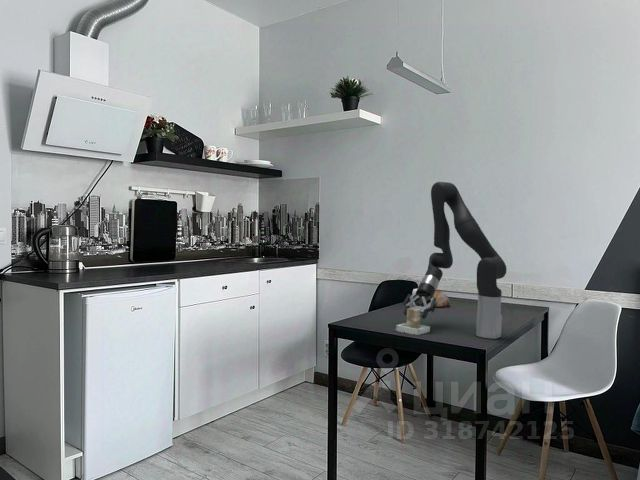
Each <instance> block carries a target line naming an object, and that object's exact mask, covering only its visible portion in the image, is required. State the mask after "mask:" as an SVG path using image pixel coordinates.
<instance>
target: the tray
mask: <svg viewBox="0 0 640 480" xmlns="http://www.w3.org/2000/svg"><path fill="white" fill-rule="evenodd" d="M395 332H399V333H404V332H405V333H406V334H409V335H414V334H415V335H414V336H421V334H422V335H425V334H428V333H430V332H431V326H430V325H424V324H420V328H419V329H415V328H410V327H406V322H403V323H400V324H395ZM405 333H404V334H405Z"/></svg>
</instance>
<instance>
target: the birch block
mask: <svg viewBox="0 0 640 480" xmlns="http://www.w3.org/2000/svg"><path fill="white" fill-rule="evenodd" d="M405 323H406V327H410V328H415V329H419V328H420V325H421V312H420V309H414V308H409V309H407V316H406V322H405Z"/></svg>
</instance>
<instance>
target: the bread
mask: <svg viewBox="0 0 640 480" xmlns="http://www.w3.org/2000/svg"><path fill="white" fill-rule="evenodd" d="M433 298H436V299H437V305H436V307H435V309H436V308H441V309H442V308H443V309H445V307H447V308H448V307H449V306H450V304H451V303H450V299H449V297H448V295H447V294H445V293H444V292H443V291H442V290H439V289H438V290H436V291H435V294H434V296H433ZM433 298H432V299H433ZM431 303H432V302H431Z"/></svg>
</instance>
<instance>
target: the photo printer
mask: <svg viewBox="0 0 640 480" xmlns="http://www.w3.org/2000/svg"><path fill="white" fill-rule="evenodd" d="M417 289H418V287H417V288H413V290H412V294H411V296H414V295H415V294H416V291H417ZM413 304H415V303H414V302H413ZM430 305H431V302H430V303H429V304H428V307H430ZM412 308H414V309H420V313H423V311H424V309H426V308H425V306H423V307H421V306H415V307H412ZM430 313H431V311H430V312H429V313H428V314H430Z"/></svg>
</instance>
